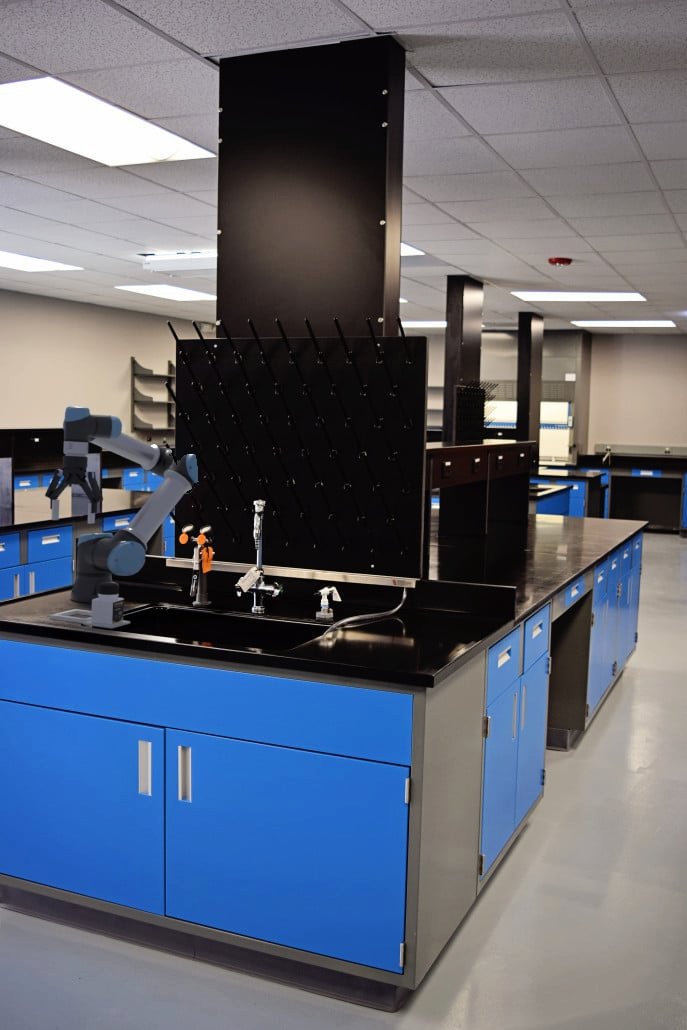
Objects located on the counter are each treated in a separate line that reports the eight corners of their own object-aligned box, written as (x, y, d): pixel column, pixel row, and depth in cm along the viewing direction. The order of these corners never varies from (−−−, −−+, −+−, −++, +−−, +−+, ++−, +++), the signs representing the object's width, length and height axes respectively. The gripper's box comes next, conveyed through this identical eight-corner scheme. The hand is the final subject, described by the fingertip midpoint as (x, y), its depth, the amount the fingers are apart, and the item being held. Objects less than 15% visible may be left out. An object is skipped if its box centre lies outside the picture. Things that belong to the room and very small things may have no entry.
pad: (102, 619, 292) (102, 617, 292) (130, 623, 288) (130, 621, 288) (83, 624, 282) (83, 622, 282) (111, 628, 279) (111, 626, 279)
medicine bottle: (112, 625, 281) (114, 585, 280) (90, 622, 282) (92, 583, 282) (123, 621, 288) (124, 582, 287) (101, 618, 289) (103, 580, 289)
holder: (75, 612, 300) (75, 609, 300) (110, 617, 296) (110, 613, 296) (49, 618, 288) (49, 614, 288) (86, 623, 284) (86, 619, 283)
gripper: (35, 452, 301) (32, 519, 302) (102, 457, 293) (99, 525, 294) (50, 453, 308) (47, 517, 309) (115, 457, 300) (113, 524, 301)
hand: (72, 521), depth 302 cm, fingers open, 13 cm apart
